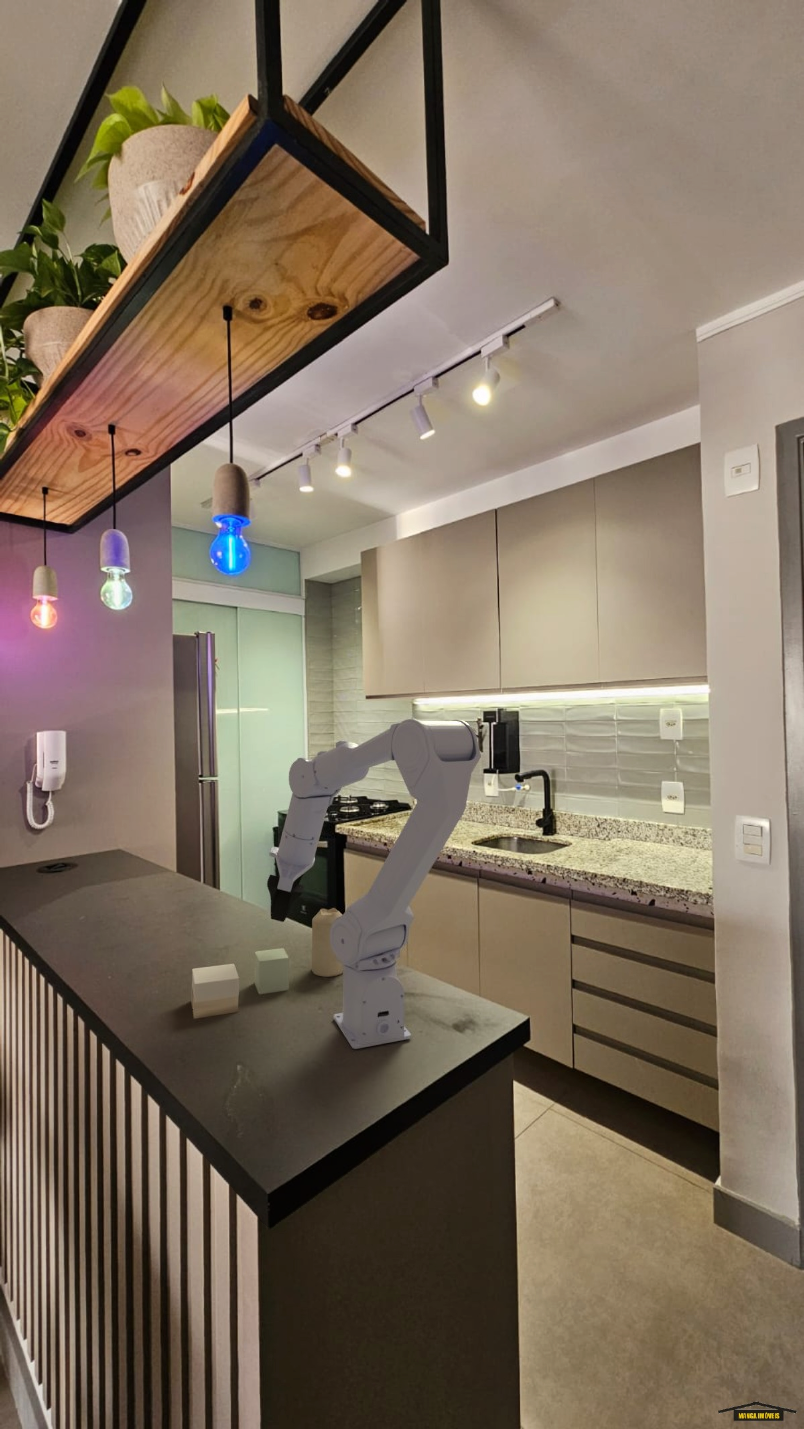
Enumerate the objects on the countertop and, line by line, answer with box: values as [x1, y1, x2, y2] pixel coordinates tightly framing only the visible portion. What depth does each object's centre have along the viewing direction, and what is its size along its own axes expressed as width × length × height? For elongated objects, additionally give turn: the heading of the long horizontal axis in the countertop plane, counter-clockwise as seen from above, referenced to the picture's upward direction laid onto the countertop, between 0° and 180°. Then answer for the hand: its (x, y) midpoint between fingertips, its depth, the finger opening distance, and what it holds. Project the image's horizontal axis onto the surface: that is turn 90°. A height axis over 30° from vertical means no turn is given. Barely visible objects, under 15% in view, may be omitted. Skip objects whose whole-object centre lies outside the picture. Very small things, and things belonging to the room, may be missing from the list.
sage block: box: [254, 947, 290, 995], centre depth 99 cm, size 4×4×5 cm
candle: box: [311, 907, 343, 978], centre depth 105 cm, size 6×6×10 cm
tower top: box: [191, 963, 240, 1002], centre depth 92 cm, size 6×6×2 cm
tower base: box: [190, 986, 239, 1019], centre depth 92 cm, size 6×6×2 cm
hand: (282, 905), depth 101 cm, fingers open, 7 cm apart
